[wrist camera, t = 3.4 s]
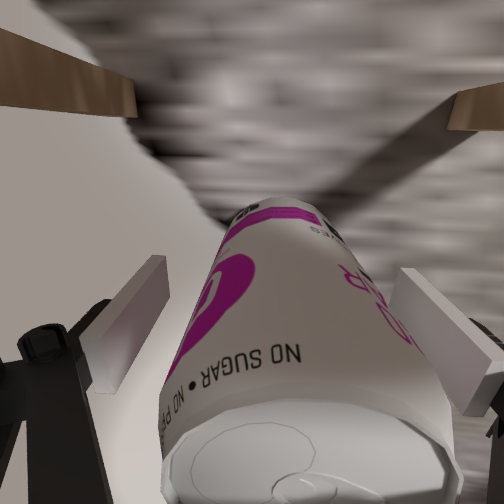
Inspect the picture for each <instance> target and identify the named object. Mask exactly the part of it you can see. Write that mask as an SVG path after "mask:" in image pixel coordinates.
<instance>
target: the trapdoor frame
mask: <svg viewBox="0 0 504 504" xmlns="http://www.w3.org/2000/svg"><path fill="white" fill-rule="evenodd" d="M0 106H9V107H19V108H29V109H39V110H49V111H59V112H68V113H78V114H88V115H98V116H109V117H134V118H138V116H137V107H136V99H135V91H134V83H133V80H131V79H129V78H126V77H124V76H121V75H118V74H116V73H113V72H111V71H108V70H106V69H103V68H101V67H98V66H96V65H93V64H90V63H88V62H85V61H83V60H80V59H78V58H75V57H73V56H70V55H68V54H65V53H62V52H60V51H57V50H55V49H52V48H50V47H47V46H45V45H42V44H40V43H37V42H34V41H32V40H29V39H27V38H24V37H22V36H19V35H17V34H14V33H12V32H9V31H6V30H4V29H1V28H0ZM446 130H463V131H504V82H501V83H497V84H492V85H487V86H482V87H478V88H473V89H468V90H464V91H459V92H458V93H457V96H456V99H455V102H454V106H453V109H452V112H451V116H450V119H449V122H448V126H447V129H446Z"/></svg>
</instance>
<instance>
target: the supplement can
mask: <svg viewBox="0 0 504 504" xmlns="http://www.w3.org/2000/svg"><path fill="white" fill-rule="evenodd" d="M158 430H159V437H160V444H161V451H162V458H163V461H162V474H161V493H162V495H163V496H164V498H165V500H166V502H167V504H458V503H459V499H460V494H461V490H462V485H463V481H464V477H463V475H462V473H461V471H460V469H459V466H458V464H457V462H456V460H455V458H454V444H453V429H452V415H451V406H450V403H449V401H448V399H447V396H446V394H445V392H444V389H443V387H442V385H441V382H440V380H439V378H438V375H437V373H436V371H435V369H434V368H433V366H432V365H431V364H430V362H429V361H428V359H427V358H426V357H425V355H424V354H423V352H422V351H421V350H420V348H419V347H418V345H417V344H416V342H415V341H414V340H413V338H412V337H411V335H410V334H409V333H408V331H407V330H406V328H405V327H404V326H403V324H402V323H401V321H400V320H399V319H398V317H397V316H396V314H395V313H394V312H393V310H392V309H391V307H390V306H389V305H388V303H387V302H386V300H385V299H384V297H383V296H382V295H381V293H380V292H379V290H378V289H377V288H376V286H375V285H374V283H373V282H372V281H371V279H370V278H369V276H368V275H367V274H366V272H365V271H364V269H363V268H362V267H361V265H360V264H359V262H358V261H357V259H356V258H355V257H354V255H353V254H352V252H351V251H350V250H349V248H348V247H347V245H346V244H345V243H344V241H343V240H342V238H341V237H340V236H339V234H338V233H337V231H336V230H335V229H334V227H333V226H332V224H331V223H330V222H329V220H328V219H327V218H326V217H325V216H324V215H323V214H322V213H321V212H319V211H318V210H317V209H316V208H315V207H314V206H313V205H311V204H308V203H305V202H303V201H300V200H297V199H294V198H268V199H265V200H262V201H259V202H257V203H254V204H251V205H249V206H248V207H247V208H246V209H244V210H243V211H242V212H241V213H240V214H238V215H237V216H236V217H235V218H234V219H233V221H232V223H231V225H230V226H229V228H228V230H227V232H226V234H225V236H224V238H223V240H222V243H221V246H220V248H219V250H218V253H217V255H216V258H215V260H214V263H213V265H212V267H211V270H210V272H209V275H208V277H207V280H206V282H205V285H204V287H203V290H202V292H201V295H200V297H199V299H198V302H197V304H196V307H195V309H194V312H193V314H192V317H191V319H190V322H189V324H188V326H187V329H186V331H185V334H184V336H183V339H182V341H181V343H180V346H179V348H178V351H177V354H176V356H175V358H174V361H173V363H172V366H171V368H170V370H169V373H168V375H167V378H166V380H165V383H164V385H163V388H162V390H161V393H160V397H159V420H158Z"/></svg>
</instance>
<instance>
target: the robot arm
mask: <svg viewBox="0 0 504 504" xmlns="http://www.w3.org/2000/svg"><path fill="white" fill-rule="evenodd" d="M169 298H170V293H169V283H168V274H167V264H166V256H160V255H152V256H151V257H150V258H149V259H148V260H147V261H146V263H145V264H144V265H143V266H142V267H141V268H140V269H139V270H138V272H137V273H136V274H135V275H134V276H133V277H132V278H131V279H130V280H129V282H128V283H127V284H126V285H125V286H124V287H123V288H122V289H121V291H120V292H119V293H118V294H117V295H116V296H115V297H114V298H113V299H112V300H111V299H104V300H102V301H100V302H99V303H97V304H95V305H94V306H93V307H92V308H91V309H90V310H89V311H88V312H87V314H85V315H84V316H83V317H82V318H81V320H80V321H78V322H77V324H75V325H74V326H73V328H72V329H70V331H69V332H68V333H67V331H66V328H65V327H64V326H63V325H61V324H58V323H57V324H46V325H42V326H39V327H36V328H34V329H32V330H30V331H29V332H27V333H25V334H24V335H23V336H22V337H21V338H20V339H19V340H18V343H17V346H18V349H19V351H20V353H21V356H22V358H23V360H18V361H13V362H7V363H3V362H2V360H1V358H0V488H1V485H2V482H3V479H4V476H5V472H6V469H7V466H8V463H9V460H10V457H11V454H12V451H13V448H14V445H15V442H16V438H17V435H18V432H19V429H20V426H21V423H22V421H25V420H26V427H27V465H28V466H27V467H28V502H29V503H28V504H113V499H112V495H111V491H110V487H109V483H108V479H107V475H106V471H105V467H104V463H103V459H102V455H101V451H100V447H99V442H98V438H97V435H96V430H95V427H94V422H93V418H92V414H91V410H90V406H89V403H88V398H87V395H86V391H87V389H88V388H89V386H90V385H91V383H93V387H94V390H95V393H104V394H115V393H116V391H117V389H118V388H119V386H120V384H121V383H122V381H123V379H124V377H125V375H126V374H127V372H128V370H129V368H130V367H131V365H132V363H133V361H134V359H135V358H136V356H137V354H138V352H139V351H140V349H141V347H142V345H143V343H144V342H145V340H146V338H147V337H148V335H149V333H150V331H151V329H152V328H153V326H154V324H155V322H156V320H157V319H158V317H159V315H160V313H161V312H162V310H163V308H164V306H165V305H166V303H167V301H168V299H169ZM389 306H390V307H391V309H392V310H393V312H394V313H395V314H396V316H397V317H398V319H399V320H400V321H401V323H402V324H403V326H404V327H405V328H406V330H407V331H408V333H409V334H410V335H411V337H412V338H413V340H414V341H415V342H416V344H417V345H418V347H419V348H420V350H421V351H422V352H423V354H424V355H425V357H426V358H427V359H428V361H429V362H430V364H431V365H432V366H433V368H434V369H435V371H436V373H437V375H438V378H439V380H440V382H441V385H442V387H443V389H444V390H445V392H446V393H447V395H448V396H449V397H450V399H451V400H452V402H453V403H454V405H455V406H456V408H457V409H458V410H459V412H460V413H461V415H462V416H470V417H484V415H485V414H486V412H487V410H488V409H489V407H490V406H491V407H492V409H493V410H494V411H495V412H496V413H497V415H498V416H497V418H496V420H495V421H494V423H493V424H492V426H491V427H490V429H489V431H488V432H487V434H486V436H487V437H488V438H490V436H491V435H492V434H493V438H492V449H491V460H490V471H489V482H488V493H487V504H504V344H502V342H501V341H500V340H499V339H498V338H497V337H494V334H492V333H491V332H490V331H489V330H488V329H487V328H486V327H485V326H483V325H481V324H480V323H478V322H476V321H475V320H473V319H471V318H467V317H466V316H465V315H464V314H463V313H462V312H461V311H460V310H459V309H457V308H456V307H455V306H454V305H453V304H452V303H451V302H450V301H449V300H448V299H447V298H446V297H444V296H443V295H442V294H441V293H440V292H439V291H438V290H437V289H436V288H435V287H434V286H433V285H431V284H430V283H429V282H428V281H427V280H426V279H425V278H424V277H423V276H422V275H421V274H419V273H418V272H417V271H416V270H415V269H414V268H400V270H399V273H398V276H397V280H396V283H395V286H394V290H393V293H392V296H391V300H390V303H389Z"/></svg>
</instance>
